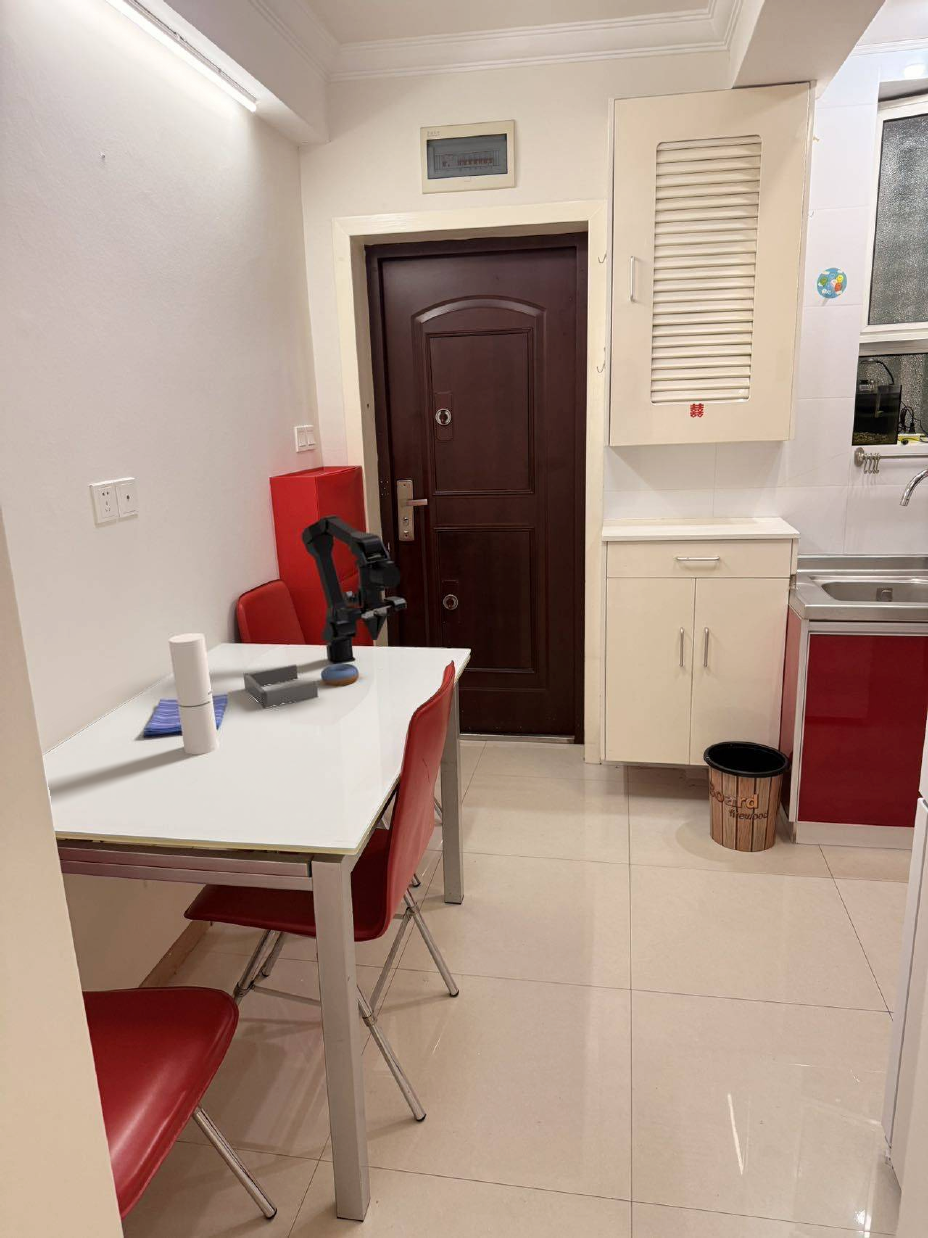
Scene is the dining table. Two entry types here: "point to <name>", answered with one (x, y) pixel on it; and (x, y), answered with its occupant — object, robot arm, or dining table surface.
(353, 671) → the doughnut
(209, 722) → the cylindrical container
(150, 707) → the dining table surface
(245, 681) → the box
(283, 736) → the dining table surface
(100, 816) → the dining table surface
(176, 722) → the dish towel
